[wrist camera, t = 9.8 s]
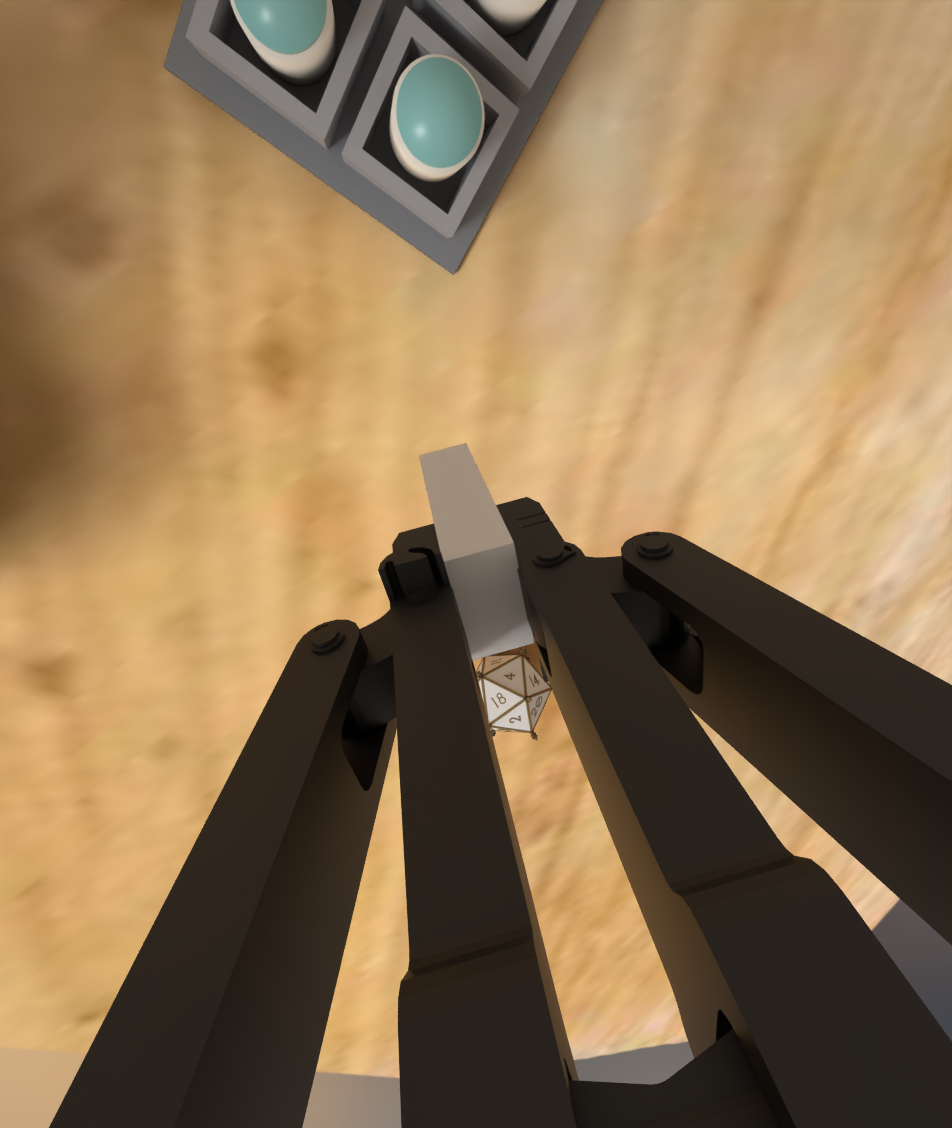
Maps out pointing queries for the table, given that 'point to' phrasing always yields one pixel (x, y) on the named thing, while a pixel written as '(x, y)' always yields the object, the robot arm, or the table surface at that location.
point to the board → (388, 101)
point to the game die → (512, 692)
